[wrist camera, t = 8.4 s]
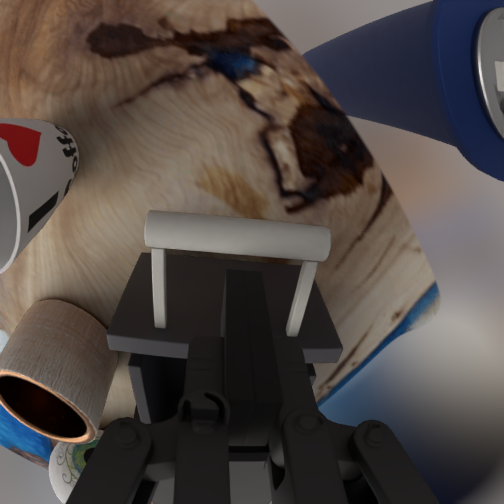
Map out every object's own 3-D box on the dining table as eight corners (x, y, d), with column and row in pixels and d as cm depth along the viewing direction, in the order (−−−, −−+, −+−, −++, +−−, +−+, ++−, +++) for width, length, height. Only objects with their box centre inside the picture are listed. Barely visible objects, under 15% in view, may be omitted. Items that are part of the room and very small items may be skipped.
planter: (55, 372, 30) (30, 437, 21) (11, 298, 24) (-34, 363, 16) (134, 373, 30) (118, 450, 21) (95, 290, 25) (54, 373, 16)
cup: (108, 196, 21) (44, 266, 12) (28, 217, 21) (-43, 283, 12) (84, 90, 17) (-5, 98, 8) (3, 126, 17) (-86, 159, 8)
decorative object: (168, 431, 36) (162, 531, 23) (146, 464, 42) (140, 540, 29) (62, 395, 32) (32, 492, 19) (63, 436, 38) (44, 511, 25)
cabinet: (146, 357, 29) (127, 451, 19) (283, 366, 31) (301, 459, 21) (159, 438, 37) (154, 505, 27) (257, 443, 39) (264, 509, 29)
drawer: (141, 167, 19) (89, 218, 12) (327, 186, 21) (383, 245, 13) (153, 389, 30) (143, 462, 22) (271, 396, 32) (282, 468, 24)
